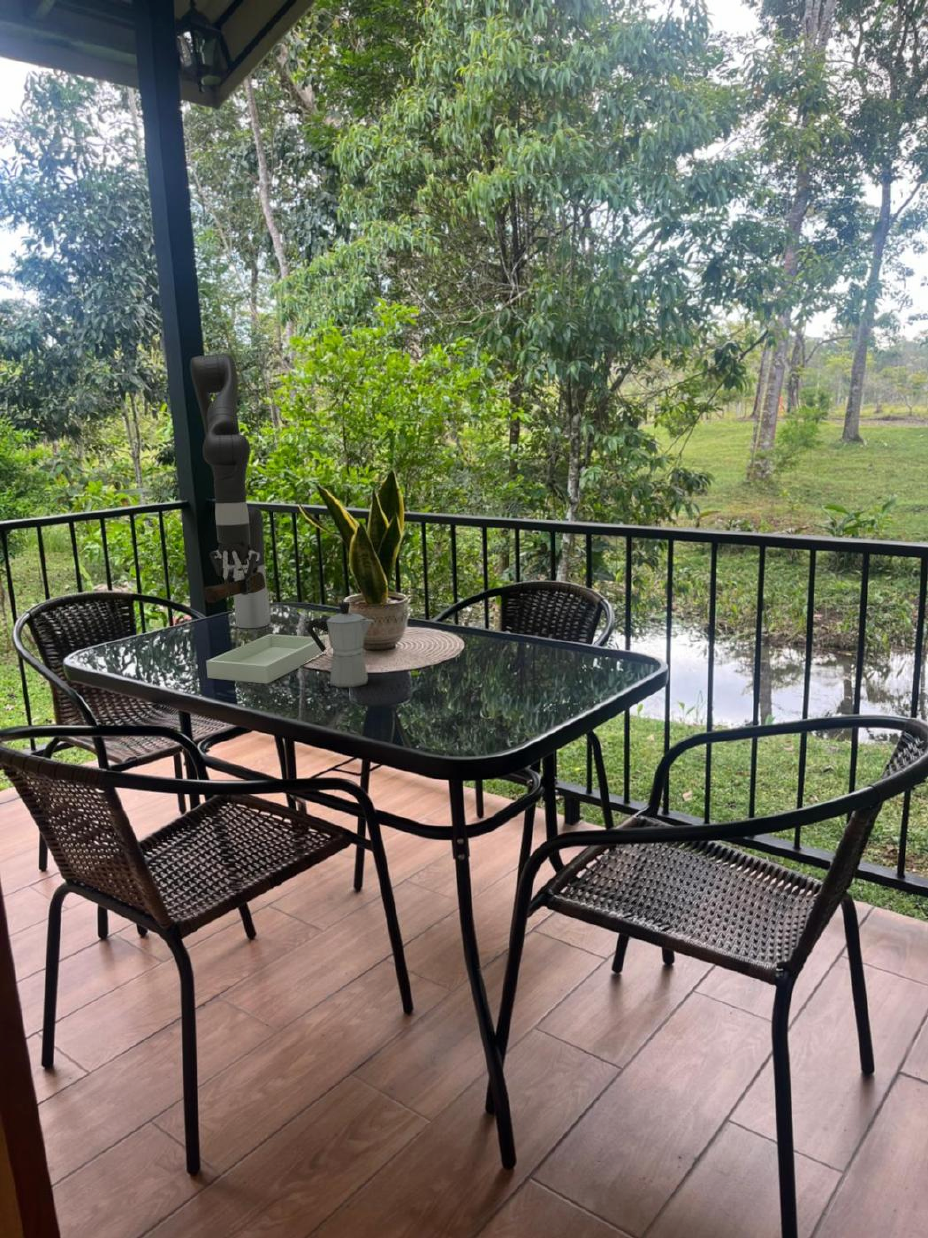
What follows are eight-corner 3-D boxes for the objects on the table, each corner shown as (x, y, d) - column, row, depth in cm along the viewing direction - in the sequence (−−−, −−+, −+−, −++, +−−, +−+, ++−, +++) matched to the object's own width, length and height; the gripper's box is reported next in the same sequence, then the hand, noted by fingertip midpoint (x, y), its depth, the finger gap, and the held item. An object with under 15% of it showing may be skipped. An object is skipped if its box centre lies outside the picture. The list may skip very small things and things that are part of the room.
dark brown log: (216, 604, 212) (215, 584, 211) (204, 602, 214) (202, 582, 213) (273, 590, 228) (272, 571, 227) (261, 588, 230) (260, 570, 229)
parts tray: (270, 649, 236) (269, 634, 235) (325, 653, 230) (324, 638, 229) (207, 678, 212) (206, 661, 211) (267, 683, 206) (266, 666, 206)
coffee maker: (379, 675, 210) (375, 597, 206) (375, 687, 202) (371, 606, 198) (314, 676, 211) (308, 599, 207) (307, 688, 202) (301, 607, 198)
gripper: (267, 520, 218) (272, 592, 222) (217, 519, 224) (223, 590, 227) (248, 524, 212) (253, 598, 215) (197, 523, 217) (204, 595, 221)
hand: (238, 593), depth 221 cm, fingers closed on dark brown log, 3 cm apart
